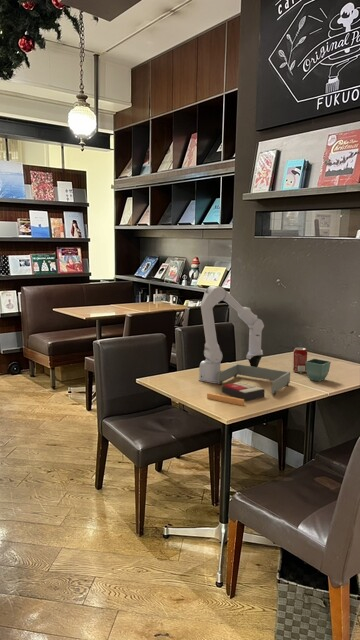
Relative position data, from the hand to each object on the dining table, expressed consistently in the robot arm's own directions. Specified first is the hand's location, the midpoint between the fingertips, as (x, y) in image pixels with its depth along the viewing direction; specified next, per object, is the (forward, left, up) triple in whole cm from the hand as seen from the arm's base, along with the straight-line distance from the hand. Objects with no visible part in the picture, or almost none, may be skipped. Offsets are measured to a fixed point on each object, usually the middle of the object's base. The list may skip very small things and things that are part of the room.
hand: (254, 371), depth 220 cm
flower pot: (+26, +15, -4) cm, 30 cm away
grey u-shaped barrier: (+5, -12, -3) cm, 13 cm away
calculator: (+7, -26, -4) cm, 28 cm away
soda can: (+14, +25, -4) cm, 28 cm away
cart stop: (+5, -39, -3) cm, 39 cm away
